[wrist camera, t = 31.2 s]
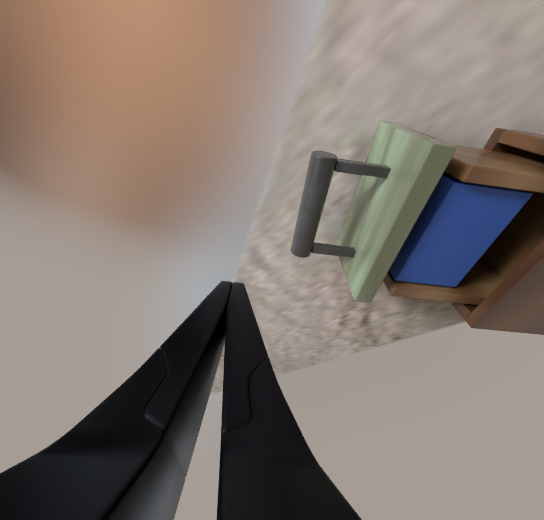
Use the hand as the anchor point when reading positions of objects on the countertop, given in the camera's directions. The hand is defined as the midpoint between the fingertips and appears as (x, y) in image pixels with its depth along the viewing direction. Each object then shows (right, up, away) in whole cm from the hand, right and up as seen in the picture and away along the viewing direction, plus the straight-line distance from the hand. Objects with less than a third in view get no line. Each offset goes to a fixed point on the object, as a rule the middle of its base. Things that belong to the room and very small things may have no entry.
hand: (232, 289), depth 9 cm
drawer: (+12, +6, +10) cm, 17 cm away
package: (+13, +5, +9) cm, 17 cm away
